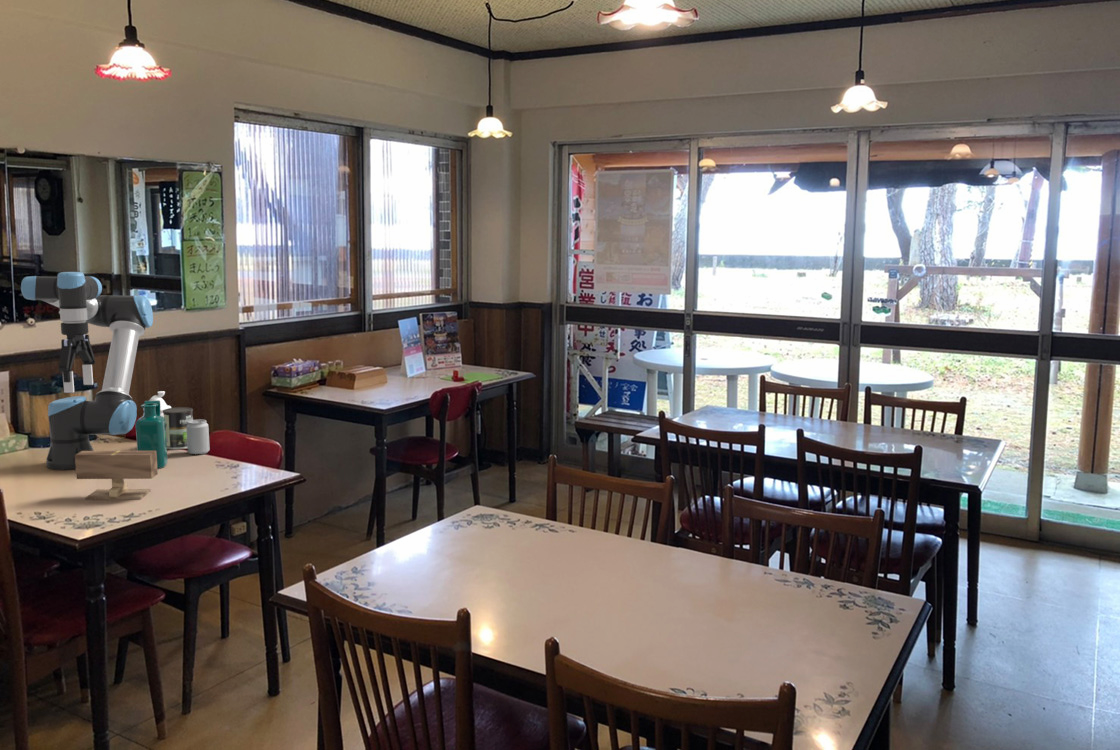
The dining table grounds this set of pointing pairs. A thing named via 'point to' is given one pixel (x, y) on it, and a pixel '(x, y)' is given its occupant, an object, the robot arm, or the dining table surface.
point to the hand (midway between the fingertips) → (79, 388)
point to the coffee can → (177, 426)
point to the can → (197, 437)
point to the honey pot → (162, 402)
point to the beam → (116, 464)
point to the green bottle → (152, 432)
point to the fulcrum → (118, 492)
